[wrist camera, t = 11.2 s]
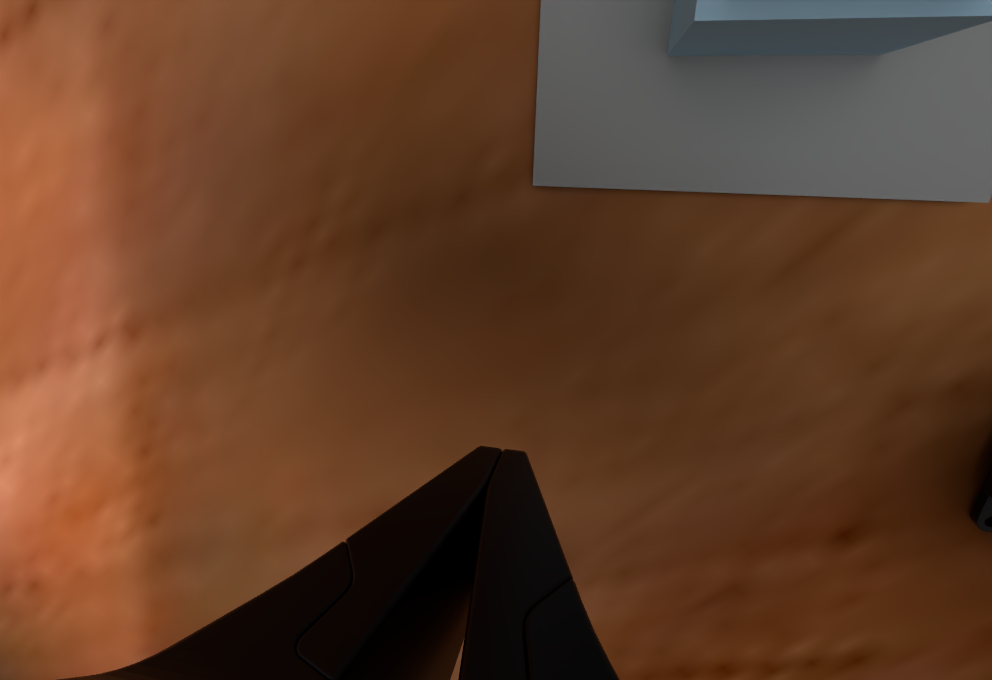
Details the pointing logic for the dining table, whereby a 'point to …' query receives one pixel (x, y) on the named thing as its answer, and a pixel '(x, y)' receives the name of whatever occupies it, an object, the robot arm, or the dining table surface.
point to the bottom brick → (816, 25)
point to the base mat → (757, 113)
